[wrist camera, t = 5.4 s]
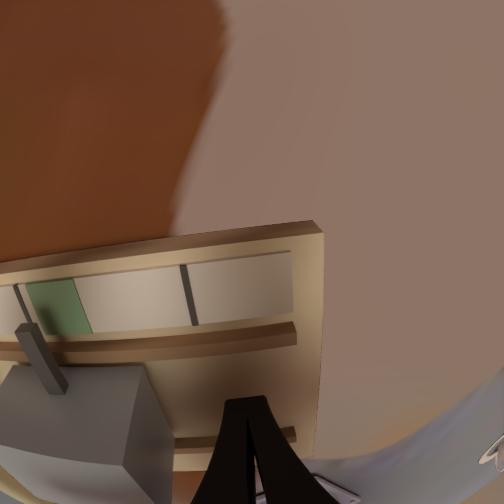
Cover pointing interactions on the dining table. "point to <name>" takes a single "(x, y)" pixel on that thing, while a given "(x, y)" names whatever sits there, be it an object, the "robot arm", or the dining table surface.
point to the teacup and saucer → (495, 454)
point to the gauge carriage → (83, 430)
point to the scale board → (186, 323)
